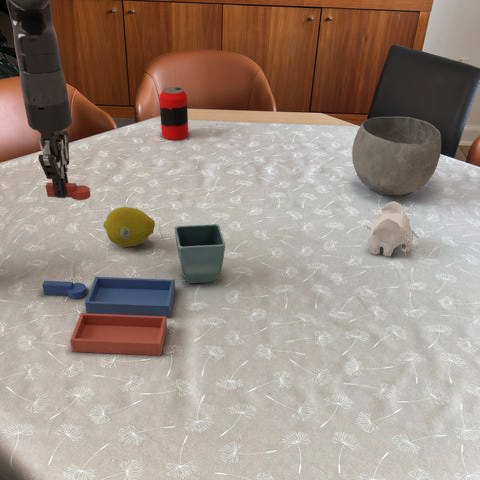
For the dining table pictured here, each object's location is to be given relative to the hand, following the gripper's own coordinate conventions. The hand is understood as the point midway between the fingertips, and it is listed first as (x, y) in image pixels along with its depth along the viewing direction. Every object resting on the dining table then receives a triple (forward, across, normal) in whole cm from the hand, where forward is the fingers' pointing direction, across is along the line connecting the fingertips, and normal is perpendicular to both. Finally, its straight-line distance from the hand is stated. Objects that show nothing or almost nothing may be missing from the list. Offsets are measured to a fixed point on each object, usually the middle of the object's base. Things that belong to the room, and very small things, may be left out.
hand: (62, 194), depth 123 cm
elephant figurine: (+14, -8, +66) cm, 68 cm away
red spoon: (0, 0, +1) cm, 1 cm away
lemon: (+14, -8, +10) cm, 19 cm away
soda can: (+14, -72, +14) cm, 75 cm away
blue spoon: (+14, +12, +1) cm, 19 cm away
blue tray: (+14, +15, +14) cm, 25 cm away
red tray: (+14, +27, +14) cm, 33 cm away
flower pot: (+14, +5, +26) cm, 30 cm away
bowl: (+14, -39, +70) cm, 82 cm away
